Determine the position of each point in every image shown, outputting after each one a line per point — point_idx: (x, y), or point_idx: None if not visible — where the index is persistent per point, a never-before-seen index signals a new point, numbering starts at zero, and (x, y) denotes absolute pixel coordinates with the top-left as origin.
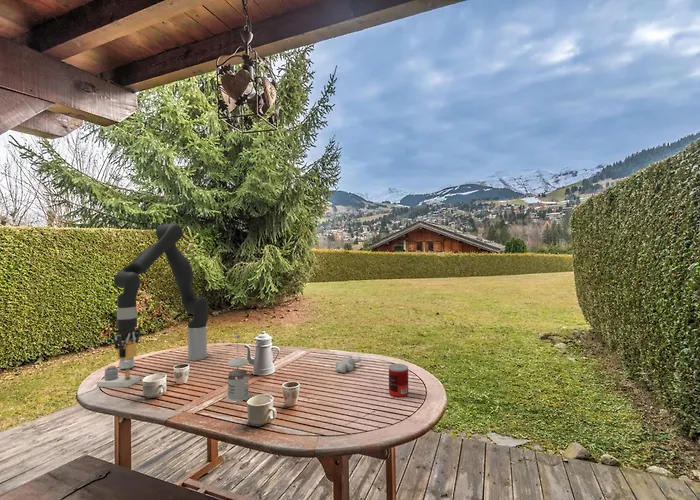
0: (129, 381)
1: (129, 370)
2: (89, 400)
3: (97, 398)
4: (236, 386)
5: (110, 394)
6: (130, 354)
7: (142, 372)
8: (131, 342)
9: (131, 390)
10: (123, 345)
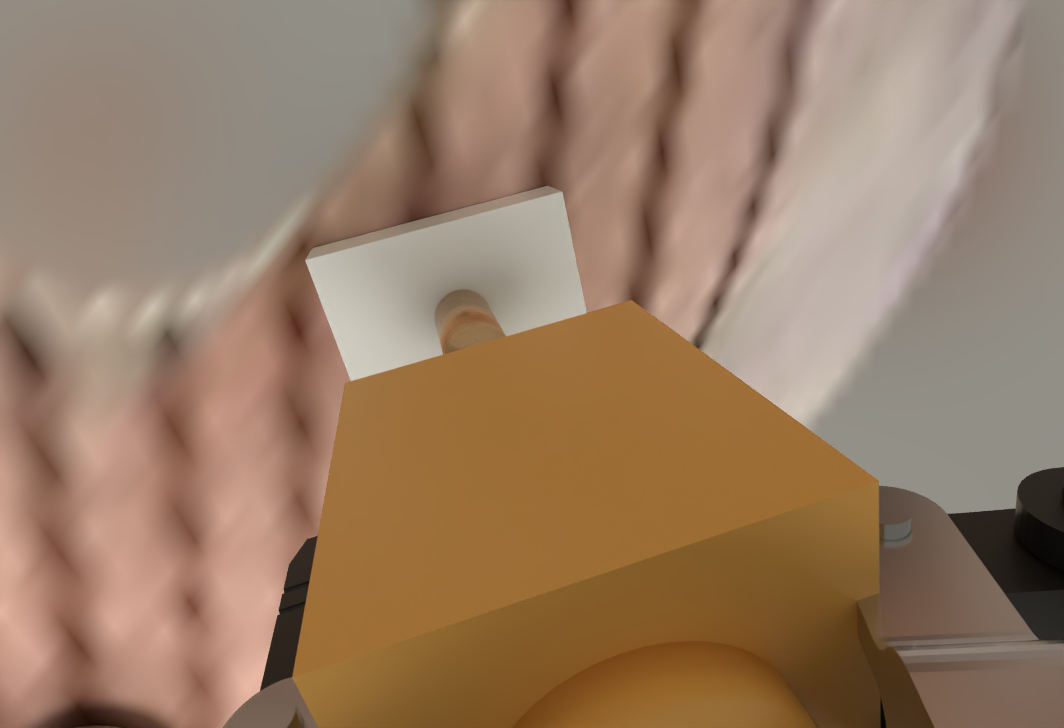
0: (525, 203)
1: (467, 326)
2: (901, 241)
3: (857, 212)
4: None
5: (757, 178)
6: (589, 357)
7: (81, 493)
8: None
9: (617, 29)
10: (991, 600)
